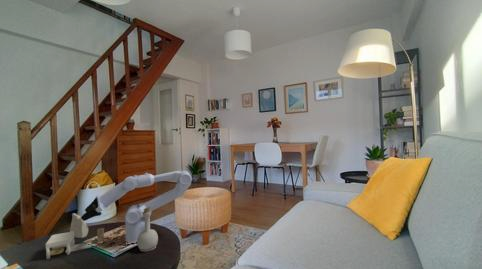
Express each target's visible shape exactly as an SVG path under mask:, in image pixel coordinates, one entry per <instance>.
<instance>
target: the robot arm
mask: <svg viewBox="0 0 482 269" xmlns="http://www.w3.org/2000/svg"><path fill="white" fill-rule="evenodd" d="M192 180H193V177H192V175H191V173H190V172H189V171H187V170H184V169H183V170H175V171H170V172H165V173H161V174H160V173H159V174H156V175H154V174H151V173H148V172H145V173H144V174H140V175H137V174H135V175H133V176H131V175H130V176H128V177H126V178H124V180H123V181H122V182H120V183H118V184H116V185H115V186H113V187H112V188H110V189H109V190H107V191H106V192H105V193H103V194H101V196H100V195H99V194H98V195H96V196H95V197H94V199H93V201H91V203H90V204H89V205H88V206H86V208H85V209H84V212H85V213H83V214H82V215H81V219H82V220H83V221H85V222H86V221H88V220H89V219H91V218H94V217H100V216H101V215H102V211H103V210H106V209H107V208H108V207H109V206H111V205H112V204H114V203H115V202H117V200H119V199H120V198H122V197H123V196H124V195H126V194H127V193H128V192H130V191H131V192H132V191H133V190H135V188H137V189H139V188H144V187H150V186H153V185H154V184H155V183H157V182H165V181H173V182H175V183H176V185H175V187H174V188H173V189H171V190H169V191H167V192H164V193H163V194H160V195H158V196H156V197H154V198H151V199H150V200H147V201H145V202H142V203H139V204H133V205H131V206H130V207H129V208H128V209H127V212H126V213H125V216H124V220H125V238H126V241H127V242H131V243H132V242H137V239H138V236H139V234H140V233H141V232H142V231H144V230H145V219H143V218H145V217H144V216H143V213H142V212H144V209H145V208H148V207H150V211H151V212H153V211H154V210H157V209H158V208H161V207H162V206H165V205H166V204H168V203H170V202H172V201H174V200H176V199H178V198H181V197H183V196H184V195H185V194H186V191H187V190H188V189H189V187H190V186H191V185H192Z"/></svg>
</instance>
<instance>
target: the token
mask: <svg viewBox="0 0 482 269" xmlns="http://www.w3.org/2000/svg"><path fill="white" fill-rule="evenodd" d="M64 252H65V247H63V248H56V249H53V250H52V249H50V257H51V256H52V257H53V256H57V255H60V254H62V253H64Z"/></svg>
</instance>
